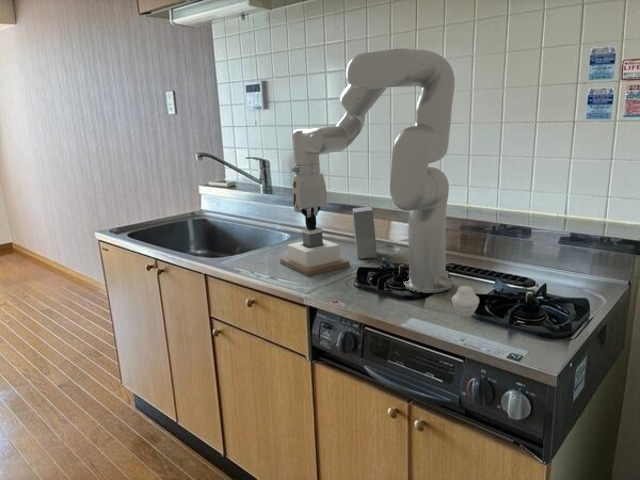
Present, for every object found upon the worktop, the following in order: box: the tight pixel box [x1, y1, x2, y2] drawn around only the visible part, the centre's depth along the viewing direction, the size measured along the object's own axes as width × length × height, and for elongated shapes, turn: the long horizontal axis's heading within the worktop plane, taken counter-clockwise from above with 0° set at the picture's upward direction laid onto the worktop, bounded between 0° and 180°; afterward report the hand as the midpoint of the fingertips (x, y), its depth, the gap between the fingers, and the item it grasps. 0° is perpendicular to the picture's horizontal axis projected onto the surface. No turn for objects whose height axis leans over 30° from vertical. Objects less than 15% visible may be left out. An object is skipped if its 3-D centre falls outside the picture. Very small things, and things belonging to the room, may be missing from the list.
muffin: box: [451, 285, 480, 318], centre depth 116 cm, size 6×6×7 cm
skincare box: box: [352, 206, 378, 260], centre depth 166 cm, size 8×7×16 cm
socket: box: [279, 238, 351, 277], centre depth 161 cm, size 18×15×6 cm
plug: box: [301, 226, 324, 248], centre depth 160 cm, size 5×5×9 cm
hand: (311, 228), depth 159 cm, fingers closed
